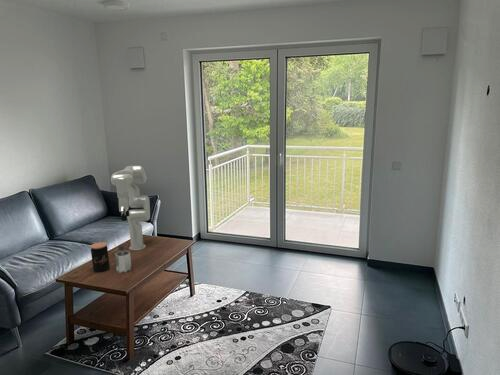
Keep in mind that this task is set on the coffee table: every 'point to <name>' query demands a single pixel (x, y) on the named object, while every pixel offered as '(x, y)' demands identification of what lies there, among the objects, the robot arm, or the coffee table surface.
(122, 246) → the plunger
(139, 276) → the coffee table surface
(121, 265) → the press carafe
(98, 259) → the coffee jar
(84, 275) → the coffee table surface
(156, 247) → the coffee table surface
